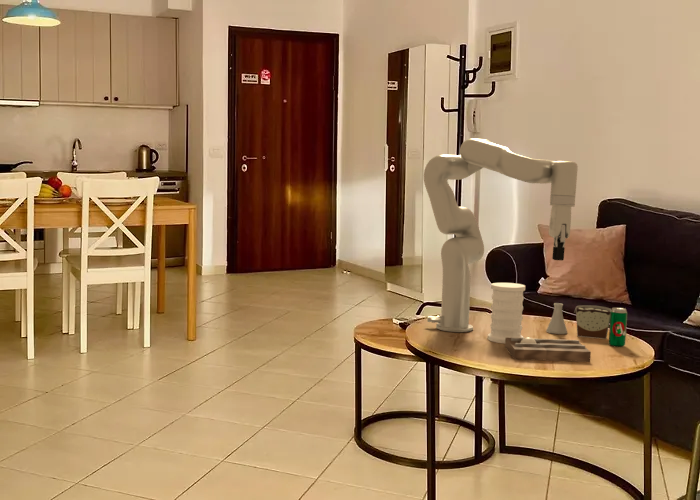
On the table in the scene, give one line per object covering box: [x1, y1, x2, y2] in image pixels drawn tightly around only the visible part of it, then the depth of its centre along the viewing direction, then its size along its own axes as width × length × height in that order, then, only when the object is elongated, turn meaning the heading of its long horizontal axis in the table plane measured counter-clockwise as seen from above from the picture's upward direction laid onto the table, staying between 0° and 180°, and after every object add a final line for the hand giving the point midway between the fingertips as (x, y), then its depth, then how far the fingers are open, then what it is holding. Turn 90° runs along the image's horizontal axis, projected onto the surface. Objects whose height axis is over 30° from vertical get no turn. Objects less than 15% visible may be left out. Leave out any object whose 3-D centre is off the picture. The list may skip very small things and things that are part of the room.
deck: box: [504, 337, 592, 363], centre depth 242 cm, size 22×16×4 cm
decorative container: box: [487, 282, 526, 344], centre depth 260 cm, size 12×12×18 cm
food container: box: [573, 304, 612, 340], centre depth 271 cm, size 12×6×10 cm, turn 71°
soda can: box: [608, 307, 628, 348], centre depth 257 cm, size 5×5×12 cm
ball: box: [520, 336, 537, 344], centre depth 242 cm, size 5×5×5 cm
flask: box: [545, 302, 568, 335], centre depth 275 cm, size 7×7×10 cm
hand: (557, 259), depth 251 cm, fingers closed
